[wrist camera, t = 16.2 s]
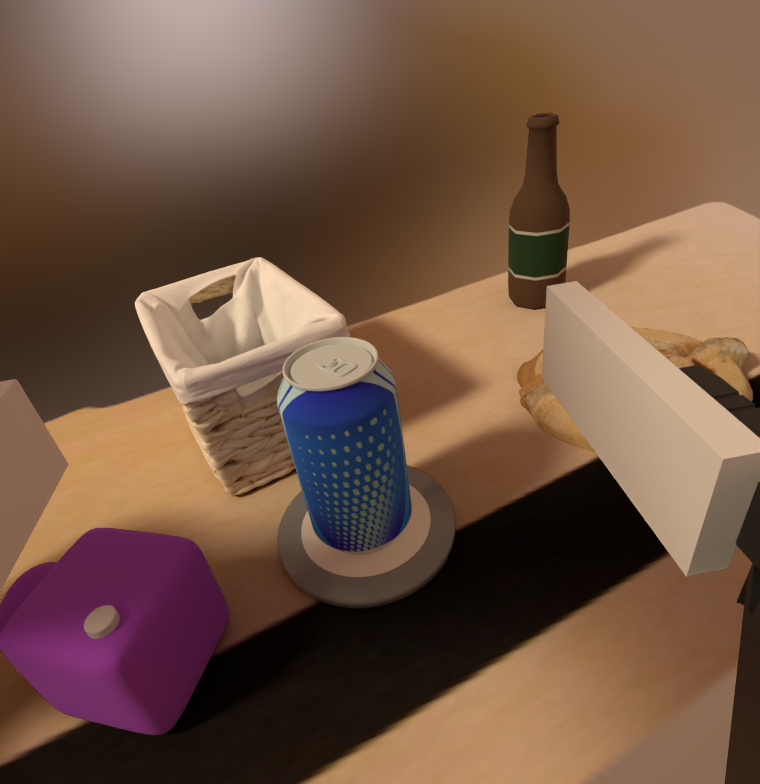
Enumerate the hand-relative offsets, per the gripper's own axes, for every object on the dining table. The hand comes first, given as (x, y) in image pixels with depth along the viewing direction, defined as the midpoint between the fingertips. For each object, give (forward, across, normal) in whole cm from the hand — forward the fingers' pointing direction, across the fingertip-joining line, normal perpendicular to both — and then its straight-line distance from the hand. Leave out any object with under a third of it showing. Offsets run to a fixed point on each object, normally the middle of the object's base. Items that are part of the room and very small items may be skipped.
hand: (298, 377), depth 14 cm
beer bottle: (+57, +29, -28) cm, 70 cm away
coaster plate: (+20, 0, -28) cm, 34 cm away
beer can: (+20, 0, -27) cm, 34 cm away
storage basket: (+39, -10, -28) cm, 49 cm away
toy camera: (+12, -18, -28) cm, 36 cm away
